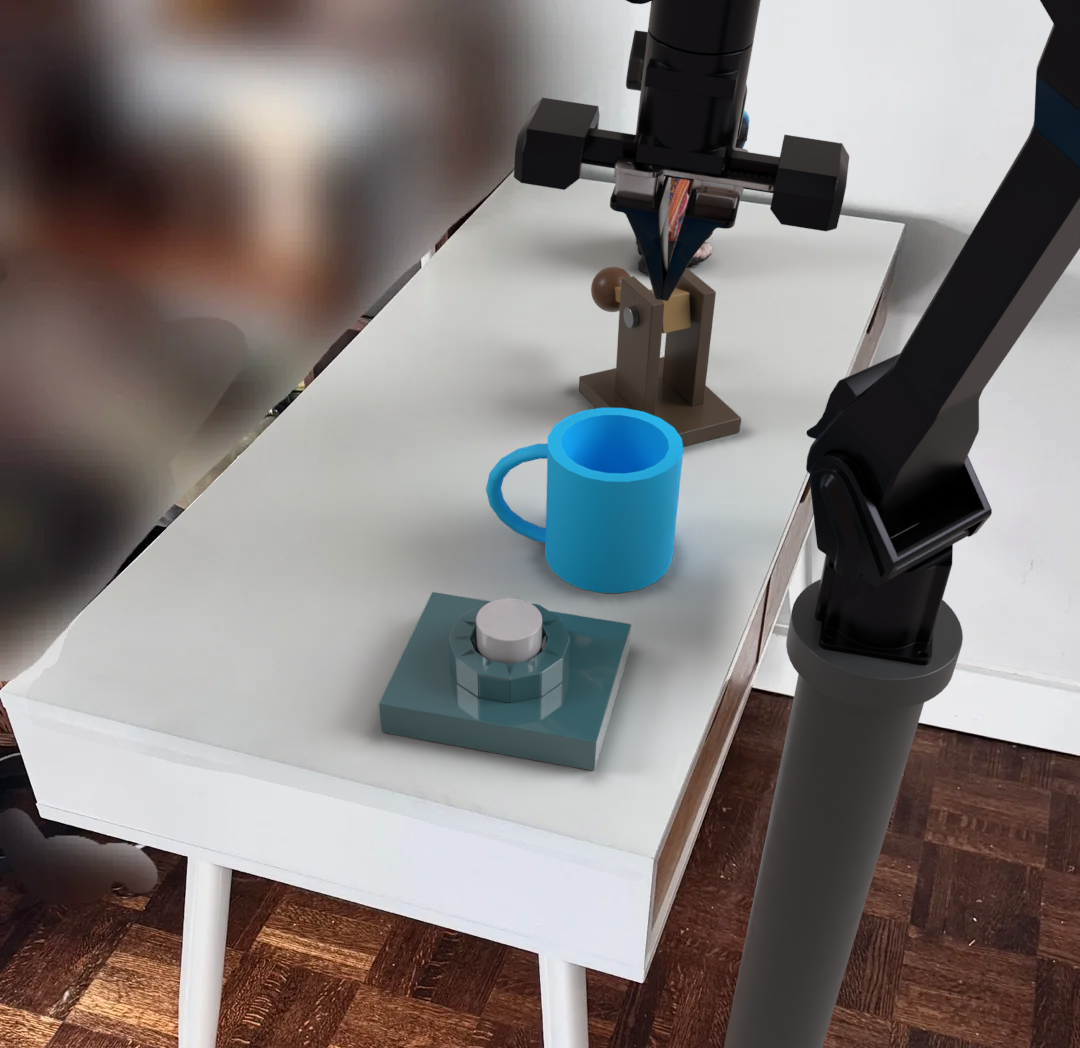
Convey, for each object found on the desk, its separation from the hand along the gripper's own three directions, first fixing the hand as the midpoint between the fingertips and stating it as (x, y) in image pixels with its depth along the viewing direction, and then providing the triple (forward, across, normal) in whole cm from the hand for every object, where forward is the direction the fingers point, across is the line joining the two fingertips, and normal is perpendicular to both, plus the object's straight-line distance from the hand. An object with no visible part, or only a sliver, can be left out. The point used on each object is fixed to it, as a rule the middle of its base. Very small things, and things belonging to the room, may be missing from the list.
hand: (662, 296), depth 83 cm
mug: (+13, +2, +10) cm, 17 cm away
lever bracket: (+13, 0, -7) cm, 15 cm away
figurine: (+15, +1, -32) cm, 36 cm away
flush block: (+12, +4, +24) cm, 27 cm away
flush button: (+8, +4, +24) cm, 26 cm away
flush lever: (+8, +2, -11) cm, 14 cm away
